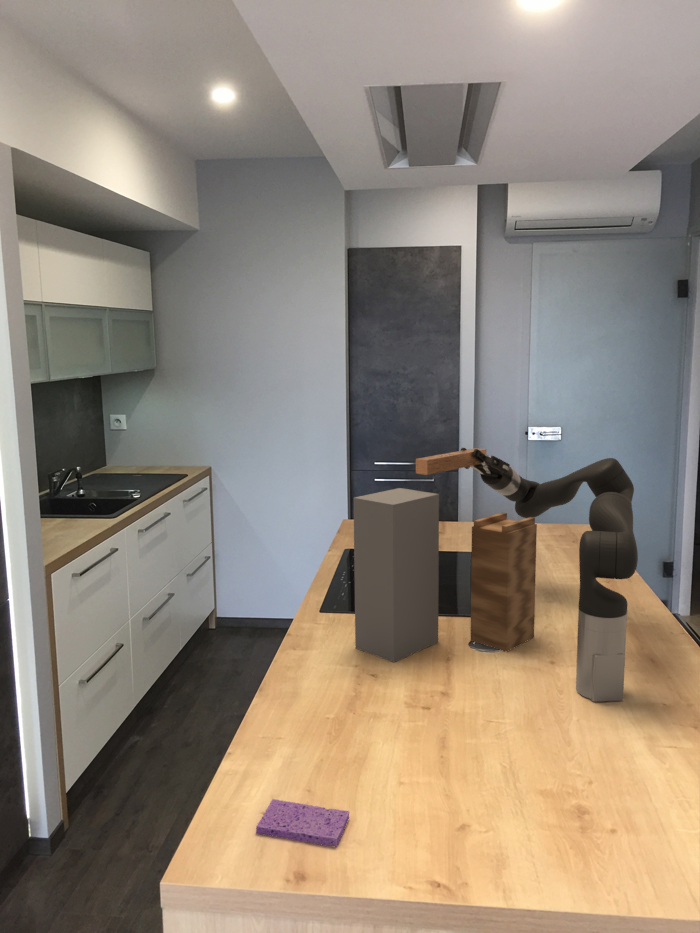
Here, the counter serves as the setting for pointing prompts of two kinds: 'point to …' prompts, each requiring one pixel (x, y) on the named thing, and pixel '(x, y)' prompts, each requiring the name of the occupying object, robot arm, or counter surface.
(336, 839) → the sponges
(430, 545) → the stand
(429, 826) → the counter surface
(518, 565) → the wood grain block
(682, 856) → the counter surface
